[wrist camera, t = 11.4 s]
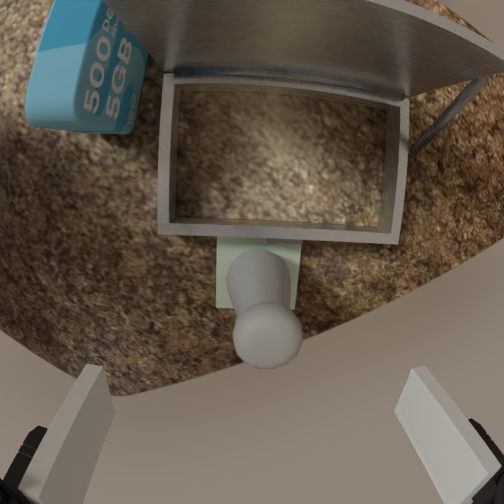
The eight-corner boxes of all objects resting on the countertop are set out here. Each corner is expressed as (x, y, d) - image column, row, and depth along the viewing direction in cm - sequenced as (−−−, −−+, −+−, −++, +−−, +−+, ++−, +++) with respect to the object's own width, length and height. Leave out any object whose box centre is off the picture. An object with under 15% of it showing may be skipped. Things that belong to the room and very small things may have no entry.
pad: (216, 306, 31) (216, 307, 31) (217, 228, 29) (217, 229, 28) (293, 308, 32) (294, 309, 31) (301, 232, 29) (302, 233, 29)
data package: (134, 135, 26) (71, 122, 14) (93, 134, 26) (19, 125, 14) (157, 24, 23) (118, -37, 11) (116, 26, 22) (64, -26, 11)
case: (165, 232, 29) (87, 314, 12) (172, 72, 24) (101, -17, 8) (392, 242, 30) (503, 312, 14) (403, 97, 26) (525, 64, 9)
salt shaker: (236, 235, 29) (235, 291, 16) (294, 251, 29) (333, 315, 17) (220, 291, 30) (210, 374, 18) (275, 305, 31) (297, 390, 18)
